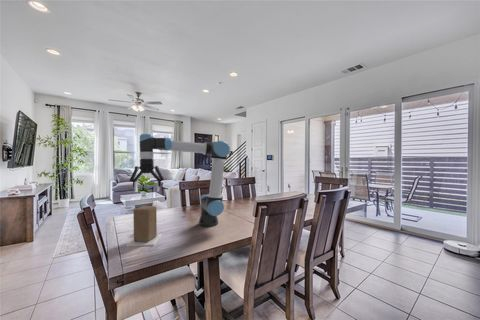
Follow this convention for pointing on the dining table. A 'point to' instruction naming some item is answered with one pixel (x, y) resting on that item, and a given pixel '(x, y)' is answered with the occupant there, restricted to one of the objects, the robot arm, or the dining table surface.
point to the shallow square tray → (150, 243)
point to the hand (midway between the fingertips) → (147, 191)
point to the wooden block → (145, 223)
